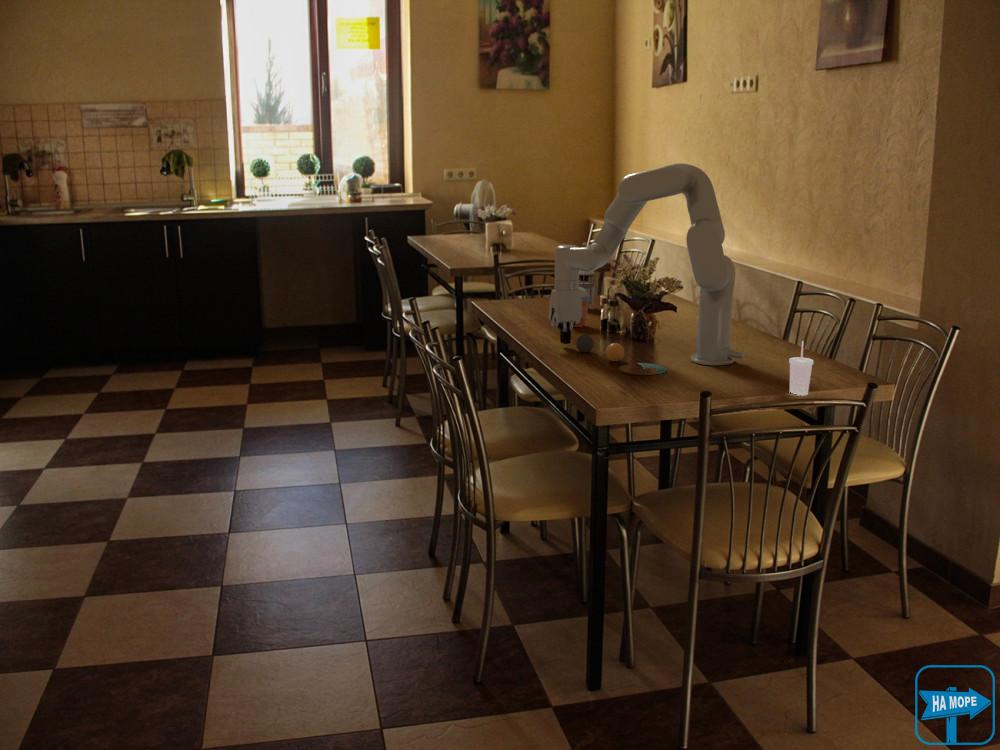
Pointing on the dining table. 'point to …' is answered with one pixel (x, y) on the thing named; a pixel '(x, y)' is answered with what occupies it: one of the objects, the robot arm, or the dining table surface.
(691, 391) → the dining table surface
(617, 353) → the object ball
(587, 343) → the dark grey ball
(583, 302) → the cup with straw
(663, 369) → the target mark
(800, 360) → the beverage cup
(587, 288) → the french press
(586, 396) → the dining table surface
